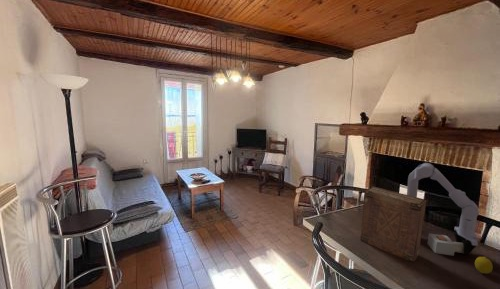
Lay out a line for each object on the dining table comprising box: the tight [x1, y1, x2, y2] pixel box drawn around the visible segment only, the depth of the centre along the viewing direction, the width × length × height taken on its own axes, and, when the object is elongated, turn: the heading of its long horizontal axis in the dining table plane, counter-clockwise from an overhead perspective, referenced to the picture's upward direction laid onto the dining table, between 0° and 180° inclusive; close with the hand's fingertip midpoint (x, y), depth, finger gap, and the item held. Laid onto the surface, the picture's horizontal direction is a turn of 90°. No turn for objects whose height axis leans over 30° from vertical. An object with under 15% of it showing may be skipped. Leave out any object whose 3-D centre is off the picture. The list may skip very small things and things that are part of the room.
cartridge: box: [453, 241, 464, 254], centre depth 115 cm, size 13×5×5 cm, turn 75°
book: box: [360, 186, 427, 264], centre depth 116 cm, size 25×9×30 cm, turn 41°
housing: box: [427, 233, 456, 257], centre depth 116 cm, size 8×8×6 cm
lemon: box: [474, 256, 493, 274], centre depth 99 cm, size 6×6×8 cm
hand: (462, 250), depth 114 cm, fingers closed on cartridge, 5 cm apart
